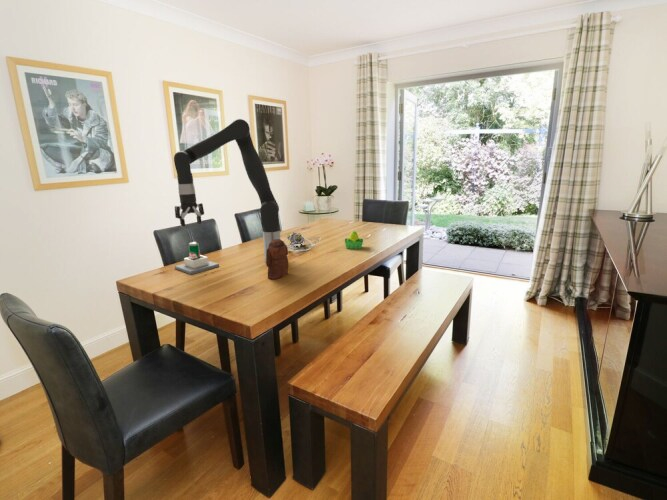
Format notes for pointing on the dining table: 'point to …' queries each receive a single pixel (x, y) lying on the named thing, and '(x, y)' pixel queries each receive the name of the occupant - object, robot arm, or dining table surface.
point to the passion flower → (296, 238)
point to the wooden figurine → (277, 259)
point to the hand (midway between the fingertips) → (191, 224)
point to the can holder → (196, 265)
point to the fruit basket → (353, 241)
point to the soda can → (194, 250)
